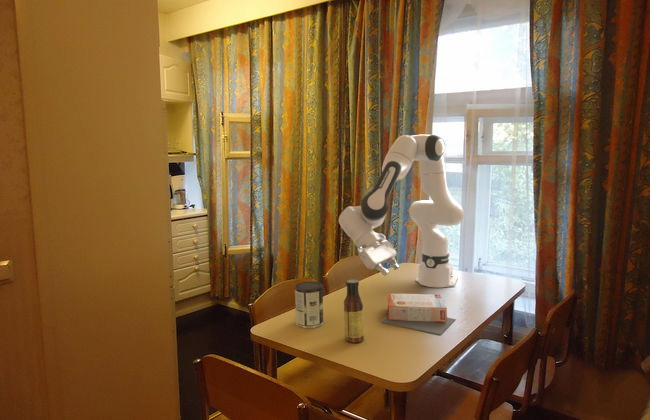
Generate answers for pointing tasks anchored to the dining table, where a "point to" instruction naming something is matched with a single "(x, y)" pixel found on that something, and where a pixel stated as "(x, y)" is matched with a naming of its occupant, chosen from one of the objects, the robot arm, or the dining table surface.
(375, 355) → the dining table surface
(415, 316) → the cracker box
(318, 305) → the coffee can
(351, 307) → the sauce bottle
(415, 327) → the mat
